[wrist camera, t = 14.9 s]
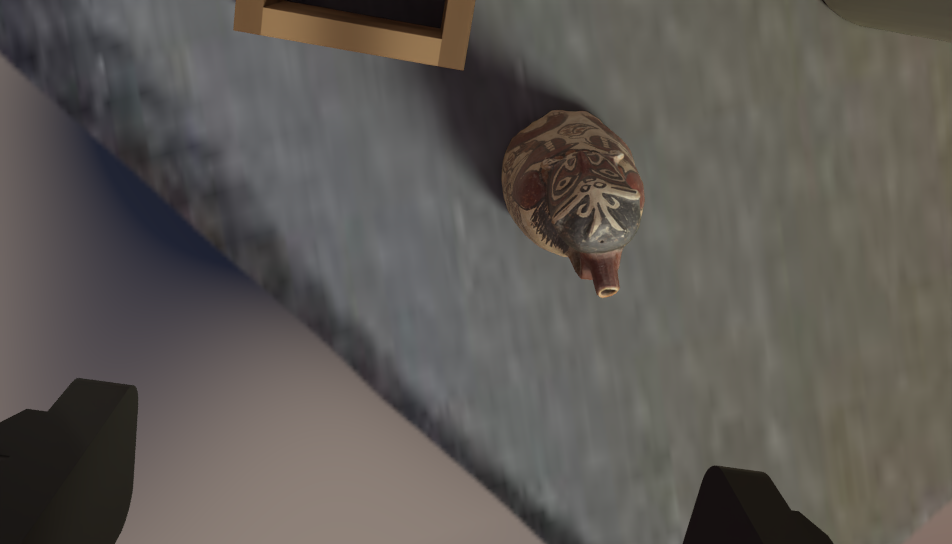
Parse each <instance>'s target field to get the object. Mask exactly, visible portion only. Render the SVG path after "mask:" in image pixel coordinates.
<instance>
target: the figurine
mask: <svg viewBox="0 0 952 544" xmlns="http://www.w3.org/2000/svg"><path fill="white" fill-rule="evenodd" d="M502 187H503V195H504V199H505V202H506V206H507V209H508V212H509V213H510V215H511V217H512V218H513V220H514V221H515V223H516V224H517V226H518V227H519V228H520V229H521V230H522V231H523V233H524V234H525V235H526V236H527V237H528V238H529V239H531V240H532V241H533V242H534V243H535V244H536V245H538V246H539V247H541V248H543V249H545V250H548V251H550V252H553V253H555V254H557V255H560V256H564V257H569V259H570V261H571V263H572V265H573V267H574V270H575V272H576V273H577V274H578V276H579V277H580V278H581V279H589V280H593V283H594V286H595V290H596V293H597V295H598V296H600V297H601V298H603V297H609V296H612V295H614V294H615V293H617V291H618V290H619V288H620V286H619V280H618V273H617V271H618V269H619V264H620V259H621V253H622V250H623V248H624V246H625V245H627V244H628V243H629V242H630V241H631V240H632V238H633V237H634V235H635V234H636V232H637V230H638V228H639V224H640V220H641V214H642V210H643V206H644V202H645V198H644V188H643V182H642V180H641V178H640V176H639V174H638V171H637V169H636V167H635V164H634V160H633V157H632V154H631V151H630V149H629V148H628V146H627V145H626V144H625V143H624V142H623V140H622V139H621V138H619V137H618V136H617V135H616V134H615V133H614V132H612V131H611V130H610V129H609V128H608V127H606V126H605V125H604V124H603V123H602V122H601V120H600V119H598V118H596V117H595V116H593V115H592V114H590V113H588V112H587V111H576V112H574V111H564V110H552V111H551V112H549V113H548V114H546V115H545V116H543V117H542V118H540V119H539V120H537V121H534V122H532V123H531V124H530V125H529V126H528V127H527V128H525V129H524V130H521V131H520V132H519V133H518V134H517V135H516V136H515V137H513V138H512V140H511V142H510V144H509V146H508V148H507V150H506V153H505V156H504V160H503V167H502Z"/></svg>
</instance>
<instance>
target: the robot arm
mask: <svg viewBox="0 0 952 544" xmlns="http://www.w3.org/2000/svg"><path fill="white" fill-rule="evenodd" d="M824 2H825V3H826V4H827V5H828V7H829V8H830V9H831V10H833V11H834V12H835V13H837V14H838V15H839V16H840V17H842V18H843V19H845V20H847V21H850V22H852V23H854V24H856V25H859V26H864V27H869V28H874V29H880V30H885V31H891V32H896V33H901V34H905V35H911V36H917V37H923V38H929V39H935V40H940V41H946V42H952V0H824ZM137 414H138V392H137V388H136V387H135V386H134V385H127V384H119V383H112V382H105V381H97V380H89V379H82V378H77V379H75V380H74V381H73V382H72V383H71V384H70V385H69V387H68V388H67V389H66V390H65V391H64V392H63V394H62V395H61V396H60V397H59V398H58V400H57V401H56V402H55V403H54V404H53V406H52V407H51V408H50V409H49V411H48V412H46V411H39V410H31V409H26V410H24V411H22V412H20V413H18V414H16V415H14V416H12V417H10V418H8V419H6V420H4V421H2V422H0V544H115V542H116V540H117V539H118V537H119V535H120V533H121V531H122V528H123V526H124V523H125V521H126V517H127V514H128V511H129V507H130V502H131V497H132V491H133V479H134V464H135V446H136V431H137ZM683 544H833V542H832V541H831V539H830V538H829V536H828V535H826V534H825V533H824V532H823V531H822V530H820V529H819V528H818V527H817V526H816V525H814V524H813V523H812V522H811V521H810V520H809V519H807V518H806V517H805V516H804V515H803V514H801V513H800V512H799V511H792V510H791V509H790V508H789V506H788V505H787V503H786V501H785V500H784V498H783V497H782V495H781V494H780V492H779V491H778V489H777V488H776V486H775V485H774V483H773V481H772V480H771V478H770V477H769V476H768V475H767V474H766V473H764V472H760V471H752V470H745V469H737V468H730V467H723V466H712V467H710V468H709V469H708V470H707V472H706V473H705V475H704V477H703V480H702V483H701V486H700V490H699V493H698V496H697V499H696V502H695V506H694V509H693V512H692V515H691V518H690V522H689V525H688V528H687V531H686V535H685V538H684V541H683Z"/></svg>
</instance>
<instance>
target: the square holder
mask: <svg viewBox="0 0 952 544" xmlns="http://www.w3.org/2000/svg"><path fill="white" fill-rule="evenodd" d="M474 6H475V0H445V5H444V11H443V18H442V24H441V29H440V28H434V27H429V26H423V25H418V24H412V23H407V22H401V21H396V20H390V19H384V18H379V17H373V16H368V15H362V14H357V13H351V12H345V11H340V10H334V9H329V8H323V7H318V6H312V5H306V4H301V3H295V2H290V1H285V0H236V5H235V17H234V29H233V30H235V31H240V32H246V33H252V34H257V35H263V36H269V37H275V38H280V39H286V40H292V41H297V42H303V43H309V44H315V45H320V46H326V47H332V48H337V49H343V50H349V51H354V52H360V53H366V54H372V55H377V56H383V57H389V58H394V59H400V60H406V61H412V62H417V63H423V64H429V65H434V66H440V67H446V68H452V69H457V70H463V71H464V65H465V59H466V53H467V47H468V41H469V35H470V30H471V24H472V18H473V12H474Z"/></svg>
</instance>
